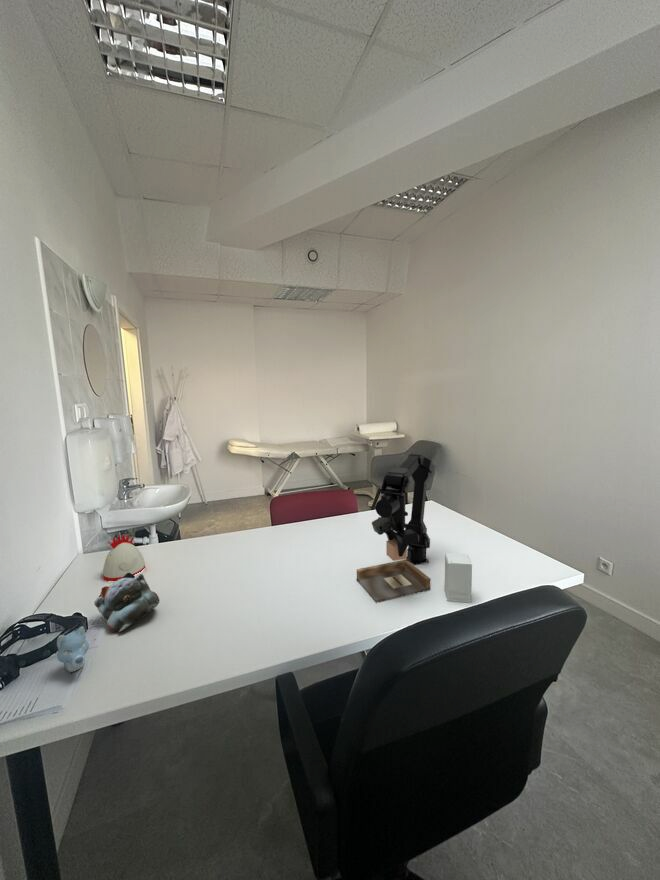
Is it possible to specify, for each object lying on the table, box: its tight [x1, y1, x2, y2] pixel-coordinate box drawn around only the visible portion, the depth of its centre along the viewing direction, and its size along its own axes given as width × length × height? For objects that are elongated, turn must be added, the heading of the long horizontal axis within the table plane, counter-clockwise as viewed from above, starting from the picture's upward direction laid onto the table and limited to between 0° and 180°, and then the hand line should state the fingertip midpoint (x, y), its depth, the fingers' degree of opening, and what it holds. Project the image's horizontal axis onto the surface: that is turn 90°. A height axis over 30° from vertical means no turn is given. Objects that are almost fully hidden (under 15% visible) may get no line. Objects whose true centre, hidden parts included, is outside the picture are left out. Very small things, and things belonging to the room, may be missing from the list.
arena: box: [356, 559, 431, 604], centre depth 122 cm, size 20×15×4 cm
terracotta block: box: [385, 540, 408, 562], centre depth 122 cm, size 5×5×5 cm
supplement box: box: [443, 552, 473, 604], centre depth 114 cm, size 7×7×13 cm
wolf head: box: [56, 625, 90, 673], centre depth 86 cm, size 6×9×10 cm
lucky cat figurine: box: [93, 573, 160, 634], centre depth 106 cm, size 15×12×14 cm
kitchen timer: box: [102, 533, 146, 582], centre depth 135 cm, size 14×14×15 cm
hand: (396, 553), depth 122 cm, fingers closed on terracotta block, 5 cm apart
